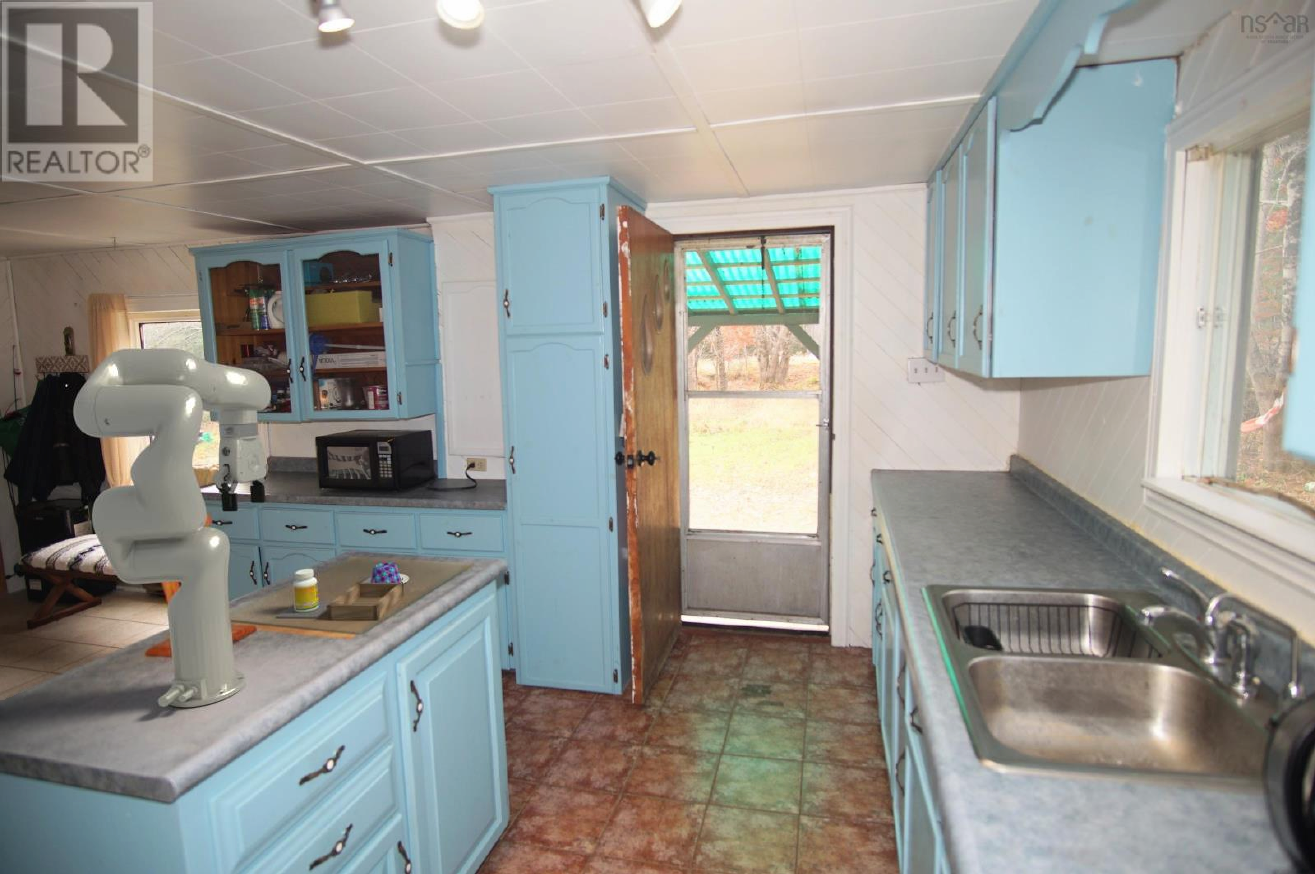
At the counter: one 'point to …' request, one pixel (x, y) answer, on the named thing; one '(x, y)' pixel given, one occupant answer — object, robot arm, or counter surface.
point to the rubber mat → (312, 614)
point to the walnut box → (349, 611)
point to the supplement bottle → (305, 591)
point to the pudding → (386, 574)
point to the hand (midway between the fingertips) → (244, 506)
